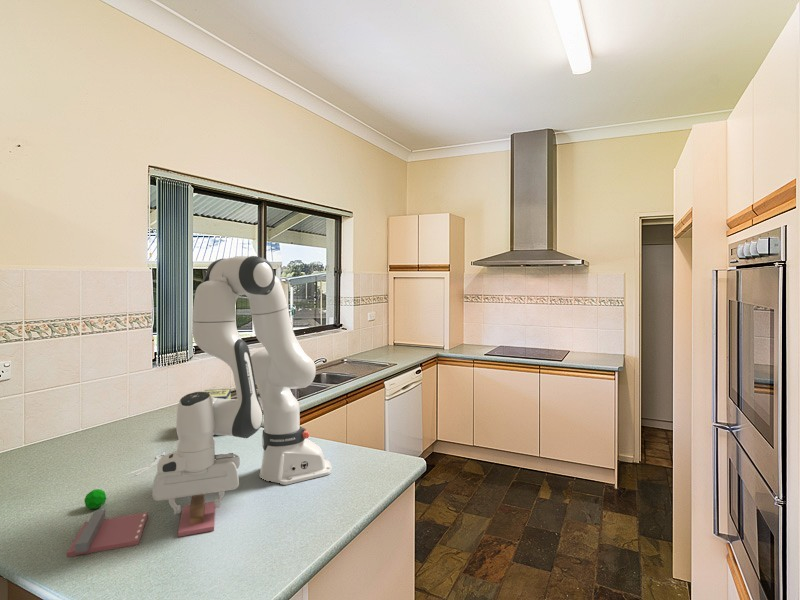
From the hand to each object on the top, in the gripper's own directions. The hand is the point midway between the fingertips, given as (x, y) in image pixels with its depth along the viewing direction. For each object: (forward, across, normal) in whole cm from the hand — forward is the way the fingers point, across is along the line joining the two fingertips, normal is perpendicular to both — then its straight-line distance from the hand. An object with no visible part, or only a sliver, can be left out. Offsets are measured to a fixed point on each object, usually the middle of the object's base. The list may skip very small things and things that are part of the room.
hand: (197, 510), depth 119 cm
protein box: (+3, -3, -75) cm, 75 cm away
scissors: (+3, +16, -44) cm, 47 cm away
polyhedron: (+3, +26, -17) cm, 32 cm away
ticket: (+2, +19, 0) cm, 20 cm away
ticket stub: (+2, 0, 0) cm, 2 cm away
